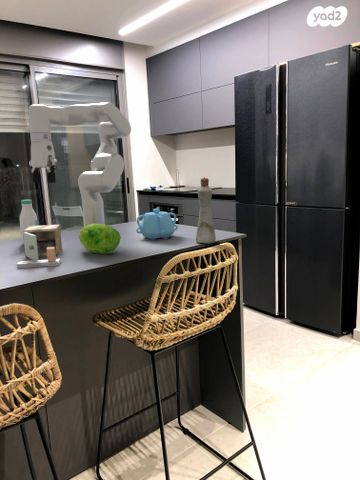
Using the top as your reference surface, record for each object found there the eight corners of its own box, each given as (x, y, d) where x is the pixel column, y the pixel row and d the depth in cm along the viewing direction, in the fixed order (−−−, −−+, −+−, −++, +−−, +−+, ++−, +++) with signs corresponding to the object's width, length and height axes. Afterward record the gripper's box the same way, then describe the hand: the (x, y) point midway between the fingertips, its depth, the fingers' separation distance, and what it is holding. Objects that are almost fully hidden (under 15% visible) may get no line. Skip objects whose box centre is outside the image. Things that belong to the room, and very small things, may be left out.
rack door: (38, 261, 144) (35, 234, 142) (32, 262, 142) (29, 235, 140) (27, 255, 153) (24, 230, 151) (21, 256, 152) (19, 231, 150)
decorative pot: (154, 233, 195) (153, 206, 192) (181, 235, 186) (180, 207, 183) (133, 239, 182) (131, 210, 179) (161, 242, 173) (159, 211, 170)
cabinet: (62, 249, 165) (59, 224, 163) (58, 254, 155) (56, 228, 153) (32, 250, 163) (29, 226, 161) (27, 256, 153) (24, 230, 151)
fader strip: (60, 262, 142) (60, 258, 142) (58, 265, 138) (58, 261, 138) (20, 265, 140) (19, 261, 139) (17, 268, 136) (16, 264, 136)
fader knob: (56, 258, 141) (55, 246, 140) (55, 260, 138) (53, 248, 137) (49, 259, 140) (47, 246, 140) (47, 261, 138) (46, 248, 137)
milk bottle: (34, 245, 174) (29, 200, 170) (18, 245, 176) (13, 200, 172) (43, 241, 182) (38, 198, 178) (28, 241, 183) (23, 199, 179)
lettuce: (97, 246, 168) (95, 219, 166) (129, 254, 152) (128, 224, 149) (70, 251, 159) (68, 223, 157) (101, 260, 143) (99, 229, 141)
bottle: (191, 243, 167) (190, 177, 162) (200, 239, 175) (199, 176, 169) (210, 245, 163) (209, 177, 158) (218, 241, 171) (218, 176, 165)
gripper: (62, 137, 149) (65, 182, 152) (36, 140, 159) (39, 182, 162) (45, 136, 143) (49, 183, 146) (19, 139, 154) (23, 183, 156)
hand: (44, 182), depth 154 cm, fingers open, 9 cm apart
